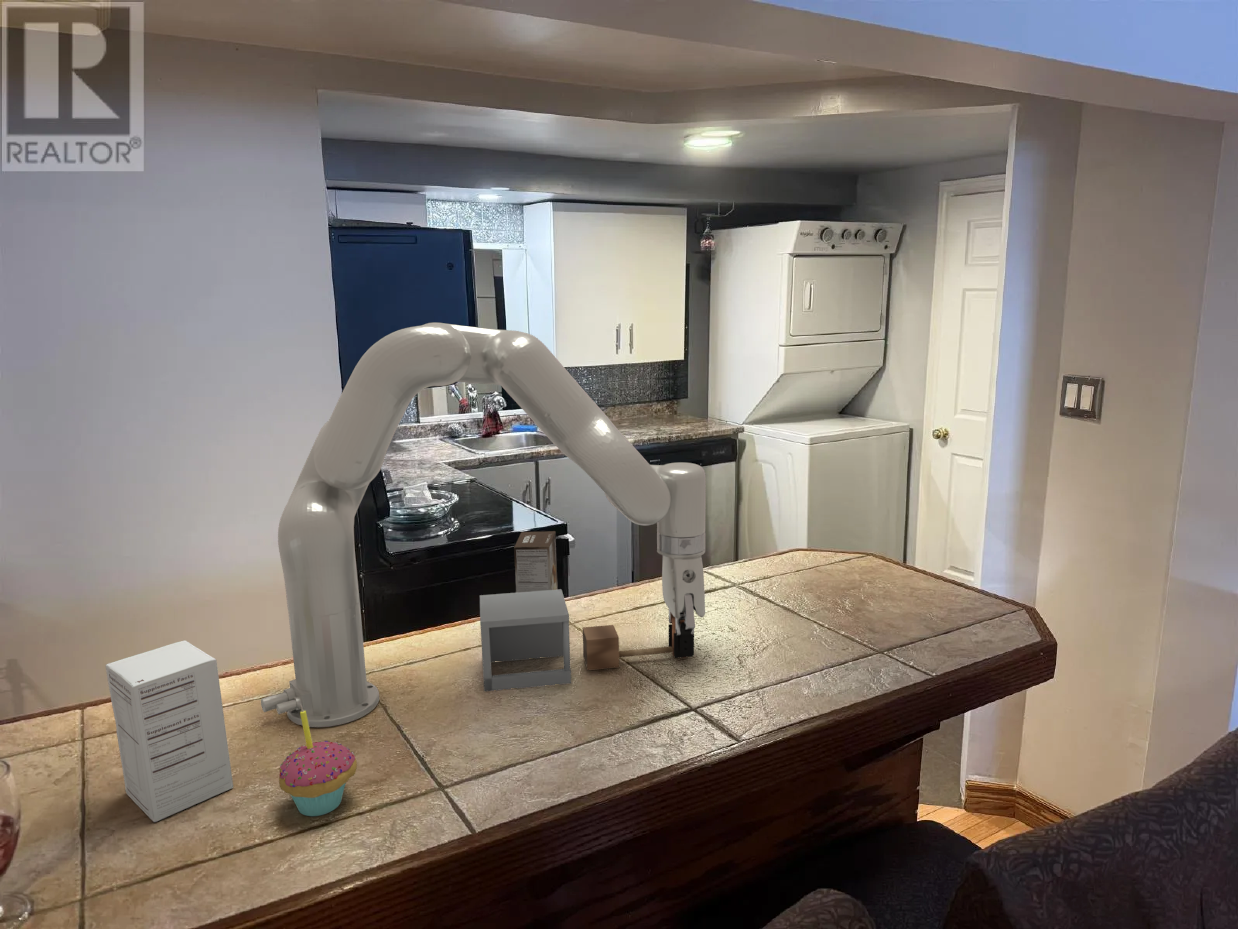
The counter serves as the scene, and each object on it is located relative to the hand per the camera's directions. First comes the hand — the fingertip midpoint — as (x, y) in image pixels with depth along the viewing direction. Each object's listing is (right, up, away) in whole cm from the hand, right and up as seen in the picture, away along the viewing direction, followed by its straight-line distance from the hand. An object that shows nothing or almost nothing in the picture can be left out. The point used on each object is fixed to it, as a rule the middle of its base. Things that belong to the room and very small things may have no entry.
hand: (681, 650), depth 134 cm
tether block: (-7, -1, -1) cm, 7 cm away
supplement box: (-63, -10, -33) cm, 72 cm away
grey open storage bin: (-25, -2, -4) cm, 25 cm away
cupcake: (-45, -10, -37) cm, 59 cm away
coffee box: (-24, +1, +14) cm, 28 cm away
